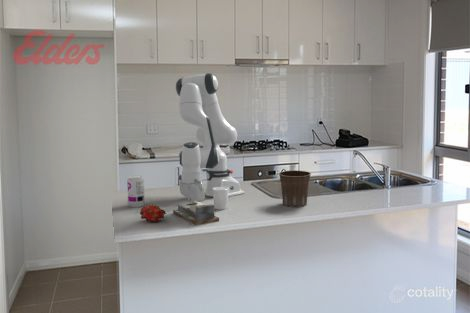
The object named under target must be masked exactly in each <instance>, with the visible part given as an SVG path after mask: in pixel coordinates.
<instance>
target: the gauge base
mask: <svg viewBox="0 0 470 313" xmlns="http://www.w3.org/2000/svg"><path fill="white" fill-rule="evenodd" d="M172 213H173V215H176V216H177V217H179V218H181V219H183V220H184V221H187V222H188V223H190V224H191V225H193V226H198V225H205V224H210V223H217V222H220V217H218V216H216V215H215V208H214V203H212V204H211V203H210V204H205V205H203V206H196V213H195V212H193V211H191V210H190V207H185V206H183V205H182V204H177V209H174V210H172Z"/></svg>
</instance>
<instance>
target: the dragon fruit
mask: <svg viewBox="0 0 470 313" xmlns="http://www.w3.org/2000/svg"><path fill="white" fill-rule="evenodd" d="M139 214H140V219H141V220H146V222H149V223H151V222H154V223H160V222H161V221H162V220H161V219H163V218H164V217H165V215H167V212H166V210H165V209H163V208H161V207H160V206H158V205H156V204H155V205H154V204H145V205H144V206H142V208H141V209H140V212H139Z"/></svg>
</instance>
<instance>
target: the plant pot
mask: <svg viewBox="0 0 470 313" xmlns="http://www.w3.org/2000/svg"><path fill="white" fill-rule="evenodd" d="M311 175H312V173H311V172H310V171H305V170H295V169H294V170H284V171H280V172H278V176H279V182H280V186H281V187H280V188H281V197H282V198H281V199H282V205H283V204H284V205H283V206H285V205H287V206H286V207H290V206H294V207H297V206H302V207H304V205H305V206H306V205H307V204H308V196H309V194H308V193H309V182H310V179H311Z"/></svg>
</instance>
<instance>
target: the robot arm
mask: <svg viewBox="0 0 470 313" xmlns="http://www.w3.org/2000/svg"><path fill="white" fill-rule="evenodd" d="M175 90H176V94H177V95H178V96H179V116H180V118H181V119H182V120H183V121H184V122H185V123H187V124H189V125H192V126H195V127H197V128H196V132H195V137H196V140H197V141H198V143H197V142H193V141H192V142H185V143H184V144H183V145H182V149H181V151H180V152H179V153H178V154H179V156H178V157H179V164H180V166H181V167H182V170H181V174H178V176H177V177H178V180H179V182H178V183H179V184H178V185H179V192H180V194H181V195H183V196H185V197H187V200H188V204H190V203H196V202H204V201H205V199H206V196H207V197H211V198H212V197H213V188H215V187H228V188H229V196H228V198H229V197H233V196H238V195H242V194H243V195H244V194H245V190H243V189H241V184H240V182H239V181H238V180H237V179H236V178H234V177H233V176H231V175H232V174H234V171H233V170H232V169H228V163H227V162H228V157H227V154H226V153H225V152H223V150H222V149H221V147H220V146H231V145H234V144H235V143H236V141H237V139H238V131H237V129H236V128H235V127H234V126H232V125H231V124H230V123H229V122H228V121H227V120H226V119H225V117H224V115H223V113H222V110H221V107H220V104H219V100H218V96H217V91H218V90H219V82H218V78H217V75H215V74H213V73H201V74H200V73H199V74H194V75H190V76H186V77H184V76H183V77H181V78H179V79H178V80H177V81H176V83H175ZM199 143H200V144H201V146H202V147H200V145H199ZM202 169H206V173H205V174H206V187H205V186H204V185H203V183H202ZM188 206H189V207H190V205H188Z"/></svg>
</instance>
